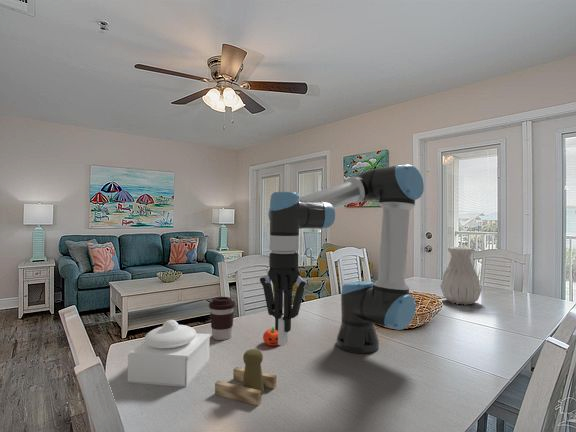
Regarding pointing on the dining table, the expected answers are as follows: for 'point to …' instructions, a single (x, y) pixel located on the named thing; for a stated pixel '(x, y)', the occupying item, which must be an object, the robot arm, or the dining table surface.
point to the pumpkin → (271, 337)
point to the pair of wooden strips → (243, 388)
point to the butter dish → (169, 356)
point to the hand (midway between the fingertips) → (282, 343)
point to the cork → (253, 370)
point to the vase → (460, 278)
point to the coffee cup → (222, 317)
